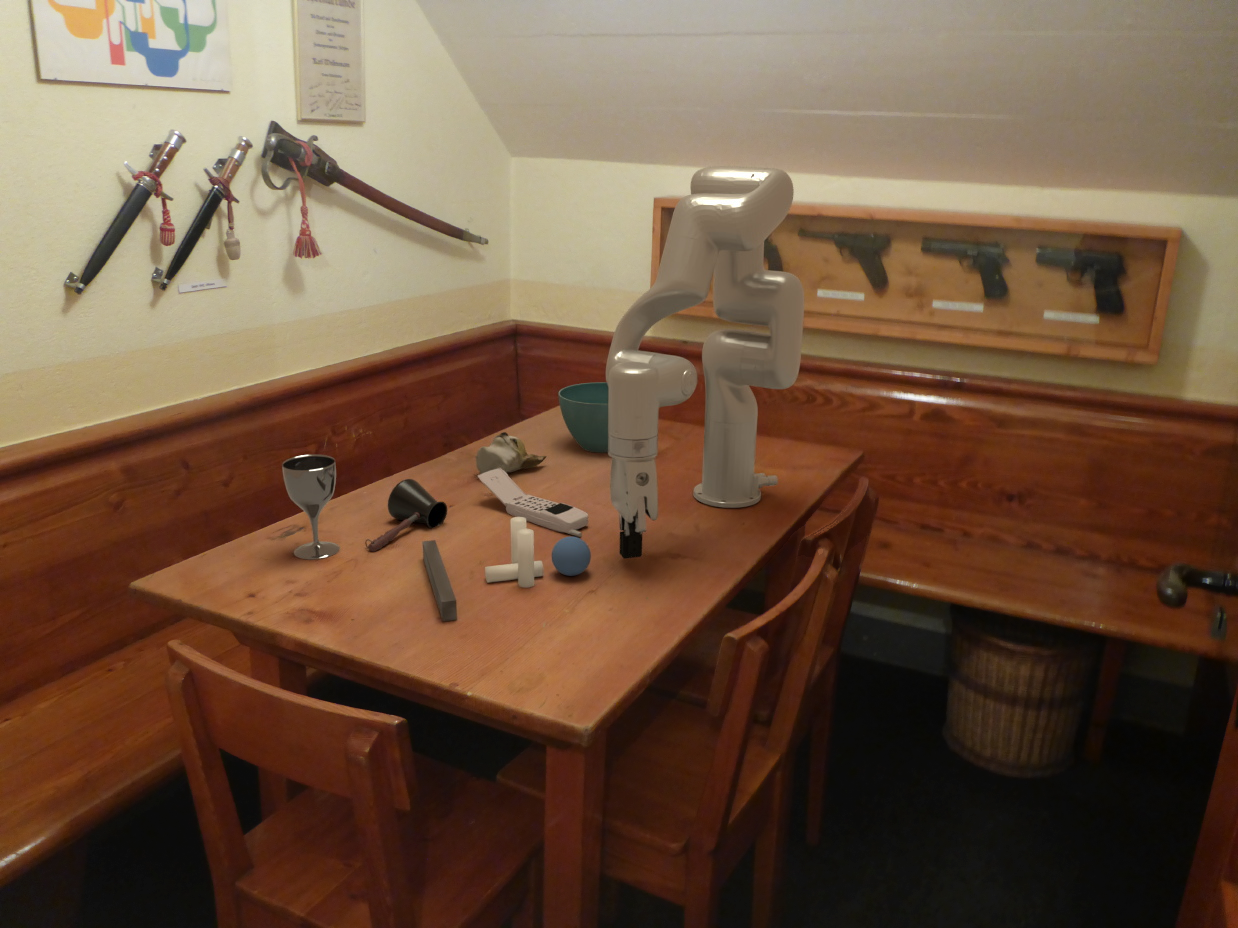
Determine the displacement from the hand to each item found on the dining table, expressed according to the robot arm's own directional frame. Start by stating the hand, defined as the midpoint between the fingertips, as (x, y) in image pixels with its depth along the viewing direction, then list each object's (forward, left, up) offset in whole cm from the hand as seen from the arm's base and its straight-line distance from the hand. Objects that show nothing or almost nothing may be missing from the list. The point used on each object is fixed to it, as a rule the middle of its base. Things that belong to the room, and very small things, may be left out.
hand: (630, 555), depth 154 cm
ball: (+10, +1, +2) cm, 10 cm away
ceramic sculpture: (+10, -49, -2) cm, 50 cm away
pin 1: (+17, -2, -2) cm, 18 cm away
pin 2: (+17, +3, -2) cm, 18 cm away
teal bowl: (-13, -60, -2) cm, 61 cm away
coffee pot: (+34, -24, -2) cm, 41 cm away
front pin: (+14, 0, 0) cm, 14 cm away
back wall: (+30, 0, -2) cm, 30 cm away
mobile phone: (+10, -24, -2) cm, 26 cm away
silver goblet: (+47, -19, -2) cm, 51 cm away
